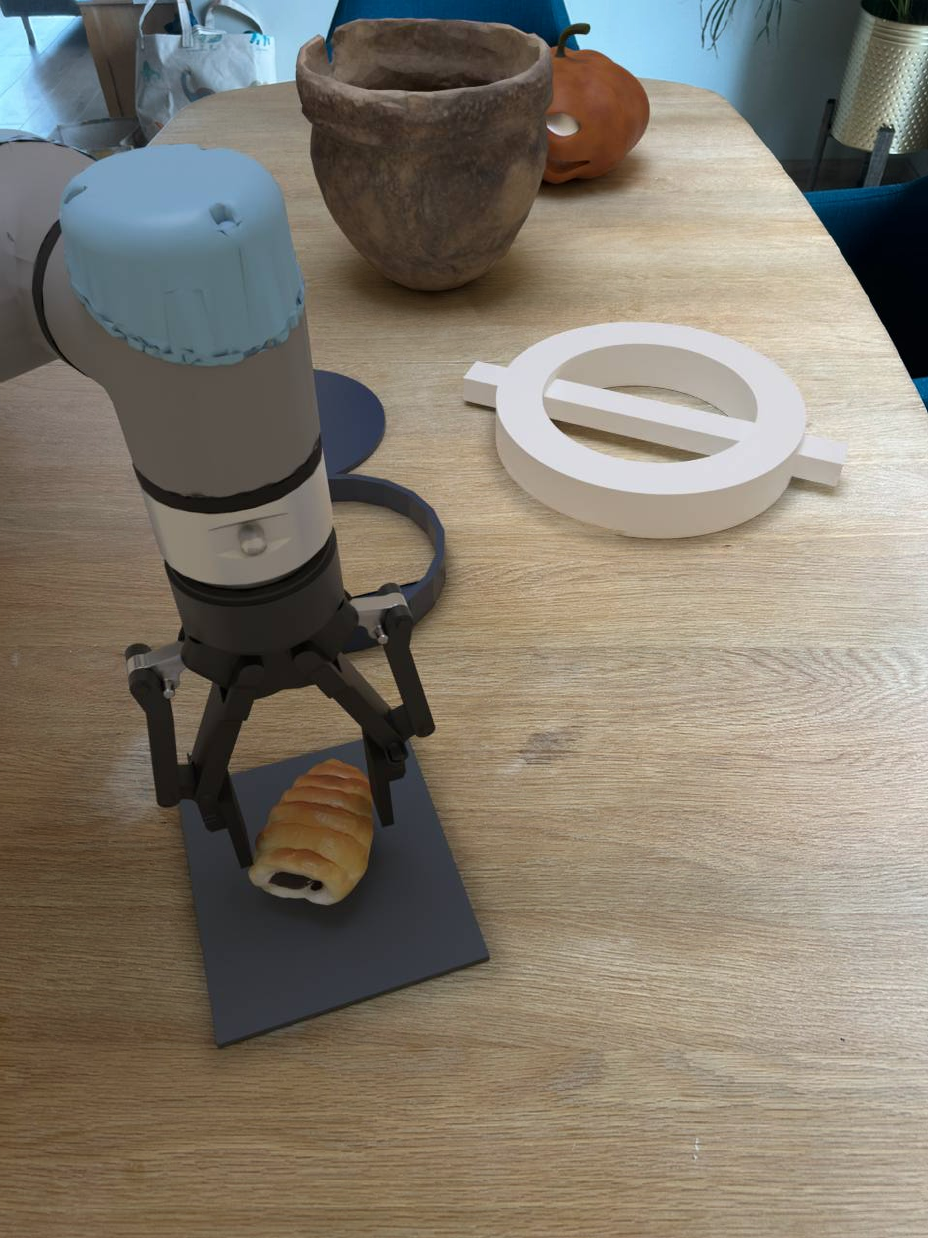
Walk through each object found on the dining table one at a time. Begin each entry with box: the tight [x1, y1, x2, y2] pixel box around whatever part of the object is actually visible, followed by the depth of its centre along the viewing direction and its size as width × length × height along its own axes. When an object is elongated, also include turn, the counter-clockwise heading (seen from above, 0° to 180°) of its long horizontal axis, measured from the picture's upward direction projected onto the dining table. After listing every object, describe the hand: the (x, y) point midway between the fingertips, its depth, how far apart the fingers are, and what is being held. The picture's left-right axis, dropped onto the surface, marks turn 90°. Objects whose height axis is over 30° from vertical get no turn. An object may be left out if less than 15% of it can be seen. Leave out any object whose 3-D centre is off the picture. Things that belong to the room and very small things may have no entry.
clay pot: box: [295, 17, 554, 292], centre depth 109 cm, size 26×26×25 cm
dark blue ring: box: [327, 473, 447, 654], centre depth 82 cm, size 19×19×3 cm
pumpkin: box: [542, 22, 651, 185], centre depth 135 cm, size 25×25×19 cm
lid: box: [313, 368, 386, 474], centre depth 94 cm, size 20×20×9 cm
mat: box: [178, 738, 491, 1049], centre depth 63 cm, size 18×16×1 cm
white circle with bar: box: [462, 321, 850, 540], centre depth 93 cm, size 28×28×5 cm
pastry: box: [248, 759, 374, 905], centre depth 60 cm, size 9×7×4 cm
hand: (313, 827), depth 60 cm, fingers closed on pastry, 8 cm apart
